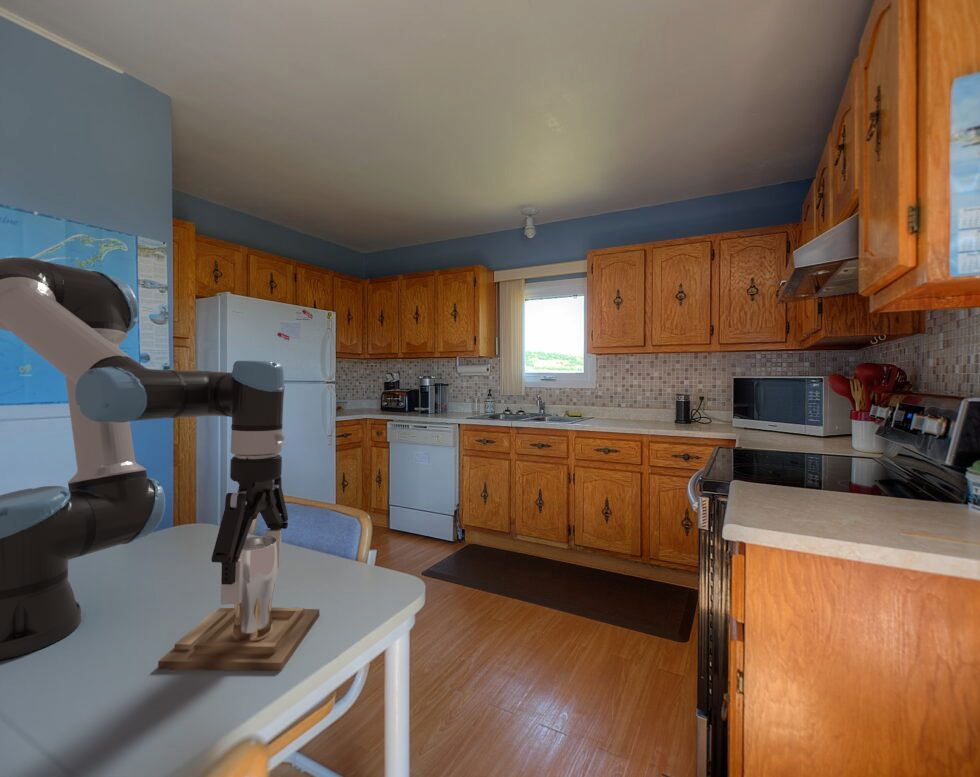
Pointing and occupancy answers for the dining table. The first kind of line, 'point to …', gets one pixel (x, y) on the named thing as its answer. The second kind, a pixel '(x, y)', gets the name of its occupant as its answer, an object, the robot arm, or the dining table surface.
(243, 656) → the tray
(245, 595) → the beer glass
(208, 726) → the dining table surface
